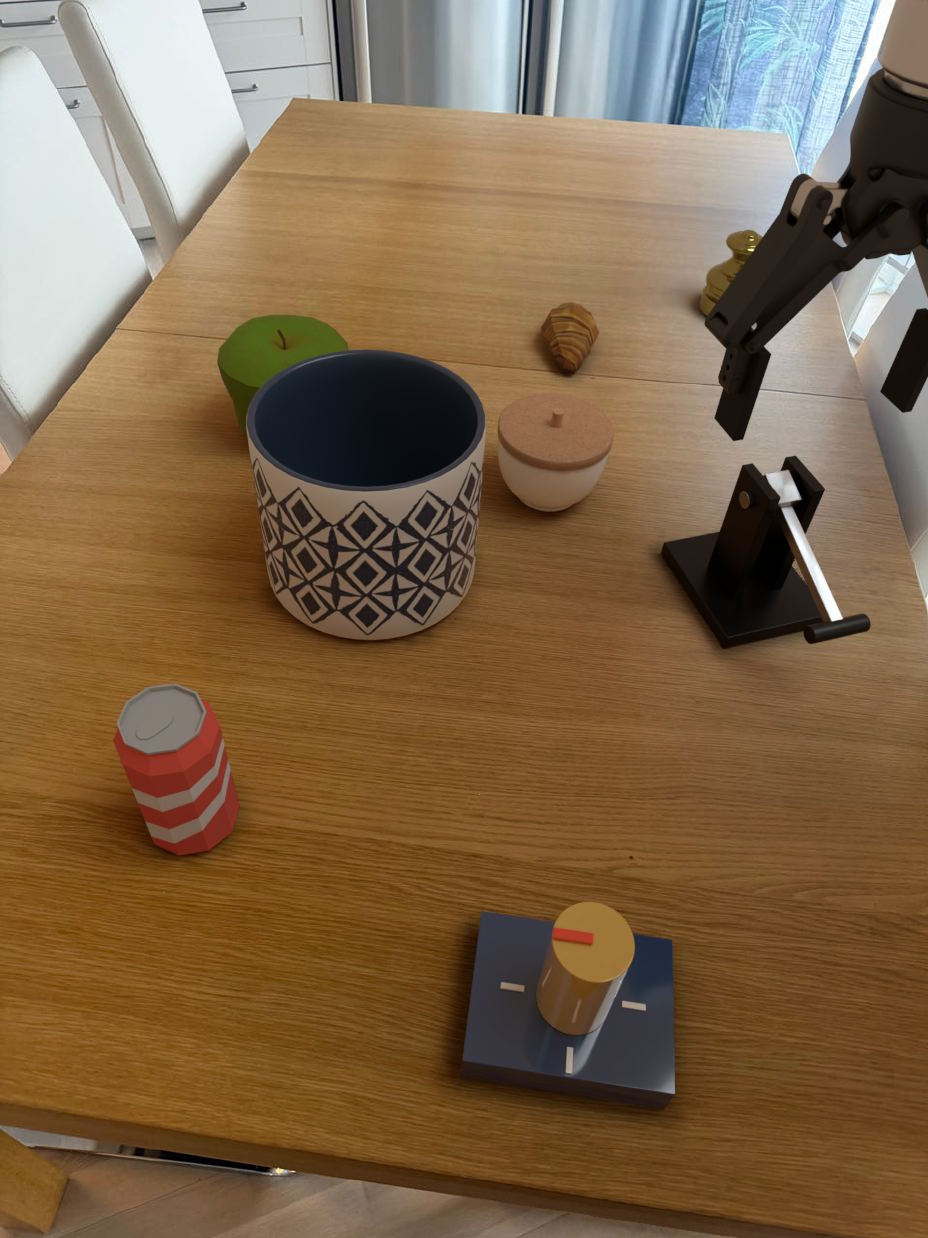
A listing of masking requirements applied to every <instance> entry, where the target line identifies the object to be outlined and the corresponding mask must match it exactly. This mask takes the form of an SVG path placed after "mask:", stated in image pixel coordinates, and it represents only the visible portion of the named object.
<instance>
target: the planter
mask: <svg viewBox="0 0 928 1238" xmlns="http://www.w3.org/2000/svg"><path fill="white" fill-rule="evenodd" d="M486 417H487V416H486V411H485V407H484V404H483V403H482V401H481V399H480V397H479V395H478V394H477V392H476V391H475V390H474V389H473V388H472V386H471V385H470V384H469V383H468V382H467V381H466V380H465V379H463V378H462V377H461V376H460V375H459V374H457V373H455V372H454V371H452V370H450V369H449V368H448V367H445V366H443V365H441V364H439V363H437V362H435V361H432V360H429V359H426V358H424V357H421V356H417V355H414V354H409V353H405V352H400V351H393V350H386V349H385V350H384V349H349V350H347V351H338V352H332V353H327V354H323V355H318V356H315V357H312V358H308V359H305V360H302V361H300V362H298V363H295V364H293V365H291V366H289V367H287V368H285V369H283V370H282V371H280V372H278V373H277V374H275V375H274V376H273V377H271V378H270V379H269V380H268V381H266V382H265V383H264V384H263V385H262V387H261V388H260V389H259V390H258V391H257V392H256V394H255V396H254V397H253V399H252V401H251V403H250V405H249V409H248V412H247V416H246V429H247V436H248V437H247V436H246V437H247V442H248V450H249V458H250V464H251V470H252V477H253V483H254V485H253V486H254V491H255V498H256V505H257V511H258V518H259V523H260V530H261V531H260V532H261V538H262V544H263V550H264V557H265V562H266V563H265V564H266V569H267V575H268V578H269V579H268V580H269V584H270V587H271V589H272V590H273V593H274V595H275V598H277V600H278V601H279V603H280V604H281V605H282V606H283V608H284V609H285V610H287V611H288V612H289V613H290V614H291V615H292V616H293V617H294V618H295V619H297V620H298V621H300V622H302V623H303V624H305V625H306V626H308V627H310V628H313V629H315V630H317V631H320V632H321V633H324V634H328V635H332V636H334V637H338V638H345V639H349V640H358V641H359V640H360V641H362V640H363V641H379V640H390V639H395V638H396V639H397V638H401V637H405V636H409V635H411V634H414V633H417V632H421V631H423V630H426V629H427V628H429V627H431V626H433V625H435V624H437V623H438V622H440V621H442V620H443V619H445V618H446V617H447V616H449V615H450V614H451V613H452V612H453V611H454V610H455V609H456V608H458V606H460V604H461V603H462V601H463V600H464V598H465V597H466V596H467V594H468V592H469V590H470V588H471V585H472V583H473V579H474V576H475V568H476V557H477V546H478V536H479V521H480V512H481V511H480V510H481V500H482V499H481V497H482V486H483V474H484V473H483V472H484V462H485V461H484V459H485V448H486V447H485V446H486V430H487V418H486Z"/></svg>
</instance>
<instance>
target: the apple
mask: <svg viewBox="0 0 928 1238" xmlns="http://www.w3.org/2000/svg"><path fill="white" fill-rule="evenodd" d="M347 350H350V349H349V344H348V341H346V339H345V338H344V337H343V336H342V335H341V334H340V333H339V331H337V329H335V328H334V327H333V326H331V325H330V324H329V323H328V322H327V323H326V322H324V321H322V320H320V319H317V318H314V317H313V316H312V317H311V316H304V315H295V314H267V315H263V316H256V317H252V318H249V319H248V320H247V321H245V322H244V323H242V324H240V325H238V326H237V327H236V328H235V329H234V330H233V331H232V333H231V334H230V335H229V336H228V338H227V339H226V340H225V341H223V343H222V345H221V346H220V347H219V348H218V354H217V360H216V363H217V368H218V370H219V374H220V377H221V380H222V382H223V385H224V386H225V388H226V390H227V393H228V394H229V397H230V399H231V402H232V404H233V409H234V412H235V415H236V416H235V417H236V419H237V420H236V421H237V424H238V428H240V430H241V431H242V432H243V433H244V435H245V436H246V437H247V438H248V436H247V429H246V416H247V412H248V409H249V405H250V403H251V401H252V399H253V397H254V396H255V394H256V392H257V391H258V390H259V389H260V388H261V387H262V385H263V384H264V383H265V382H266V381H268V380H269V379H270V378H271V377H273V376H274V375H275V374H277V373H278V372H280V371H282V370H283V369H285V368H287V367H289V366H291V365H293V364H295V363H298V362H300V361H302V360H305V359H308V358H312V357H315V356H318V355H323V354H327V353H332V352H338V351H347Z"/></svg>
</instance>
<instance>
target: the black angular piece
mask: <svg viewBox="0 0 928 1238" xmlns="http://www.w3.org/2000/svg"><path fill="white" fill-rule="evenodd" d="M784 470H789V472H790V474H791V476H792V479H793V481H794V483H795V485H796V487H797V489H798V492H799V494H800V496H801V498H802V500H801V501H800V502H799V503H798V504H797V505H796V506H795V507H794V508H793V509H794V511H795V513H796V515H797V518H798V520H799V522H800V524H801V526H802V529H803V531H804V533H805V535H806V534H807V533H808V530H809V528H810V525H811V523H812V521H813V518H814V517H815V514H816V512H817V509H818V507H819V505H820V502H821V501H822V497H823V495H824V493H825V491H826V488H825V486H823V484H821V482H820V481H819V480H818V479H817V478H816V477H815V475H814V474H813V473H812V472H811V471H810V470H809V468H808V467H806V465H805V463H803V462H802V460H801V459H800V458H799V457H798V456H797V455H790V456H786V457H784V460H783V463H782V465H781V468H780V470H779V471H784ZM780 498H781V497H780V496H779V495H778V493H777V492H776V491H775V490H774V488H773V487H772V486H771V485H770V484H769V482H768V481H767V480H766V479H765V478H764V474H762V472H760V470H759V469H758V467H756V465H755V464H754V463H747V464H746V463H745V464H742V465H741V467H740V470H739V473H738V476H737V479H736V482H735V485H734V489H733V492H732V494H731V496H730V500H729V503H728V506H727V509H726V512H725V514H724V517H723V520H722V522H721V526H720V529H719V531H715V532H710V533H706V534H705V533H704V534H699V535H695V536H690V537H685V538H679V539H674V540H669V541H665V542H663V544H662V548H661V551H660V556H661V557H662V559H663V560H664V562H665V563H666V564H667V567H669V570H670V571H671V573H672V574H673V575H674V577H675V578H676V580H677V581H678V583H679V585H680V586H681V588H682V589H683V591H684V592H685V594H686V595H687V596H688V598H689V600H690V601H691V602H692V605H693V606H694V607H695V609H696V610H697V612H698V613H699V615H700V617H701V619H703V621H704V622H705V624H706V626H707V627H708V628H709V630H710V632H711V634H712V635H713V636H714V638H715V640H716V642H717V643H718V644H719V646H720V647H721V648H722V649H723V650H725V649H729V648H734V647H738V646H741V645H742V646H743V645H748V644H752V643H756V642H760V641H764V640H769V639H773V638H778V637H782V636H786V635H791V634H795V633H799V632H804V628H805V627H806V626H808V625H813V624H817V623H822V622H823V620H822V618H821V616H820V613H819V611H818V609H817V607H816V604H815V602H814V600H813V598H812V595H811V593H810V591H809V589H808V586H807V584H806V582H805V580H804V578H803V577H801V575H800V574H799V573H798V571H797V570H796V569H795V567H794V566H793V564H794V562H795V561H796V559H795V557H794V555H793V553H792V550H791V548H790V546H789V544H788V541H787V539H786V537H785V535H784V532H783V530H782V528H781V526H780V523H779V521H778V519H777V517H776V516H775V517H773V516H774V514H775V511H776V509H777V506H778V503H779V501H780ZM806 536H807V535H806Z"/></svg>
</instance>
